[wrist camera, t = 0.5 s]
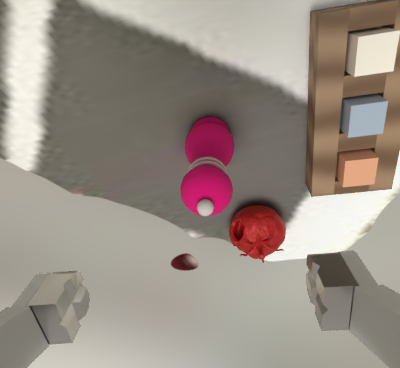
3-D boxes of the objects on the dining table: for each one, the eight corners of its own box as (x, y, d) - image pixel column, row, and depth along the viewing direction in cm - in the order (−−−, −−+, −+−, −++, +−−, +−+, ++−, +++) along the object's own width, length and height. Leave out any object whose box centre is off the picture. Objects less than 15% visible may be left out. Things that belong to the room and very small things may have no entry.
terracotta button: (337, 150, 46) (345, 161, 43) (368, 146, 45) (378, 157, 42) (335, 175, 48) (342, 187, 45) (364, 172, 47) (374, 184, 44)
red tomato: (278, 192, 54) (289, 226, 46) (284, 235, 59) (295, 271, 51) (223, 203, 55) (225, 237, 47) (234, 243, 60) (237, 280, 52)
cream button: (347, 33, 37) (358, 37, 34) (385, 27, 37) (400, 30, 34) (344, 70, 39) (354, 76, 37) (380, 65, 39) (393, 71, 36)
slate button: (341, 97, 41) (351, 105, 38) (376, 93, 41) (388, 101, 38) (339, 127, 44) (347, 137, 41) (371, 123, 43) (382, 133, 40)
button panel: (310, 11, 38) (319, 13, 35) (412, -7, 37) (431, -6, 34) (305, 183, 52) (311, 196, 49) (380, 175, 51) (391, 188, 47)
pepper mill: (223, 106, 46) (225, 174, 29) (239, 147, 49) (249, 228, 32) (180, 123, 48) (158, 196, 31) (198, 161, 51) (187, 245, 34)
